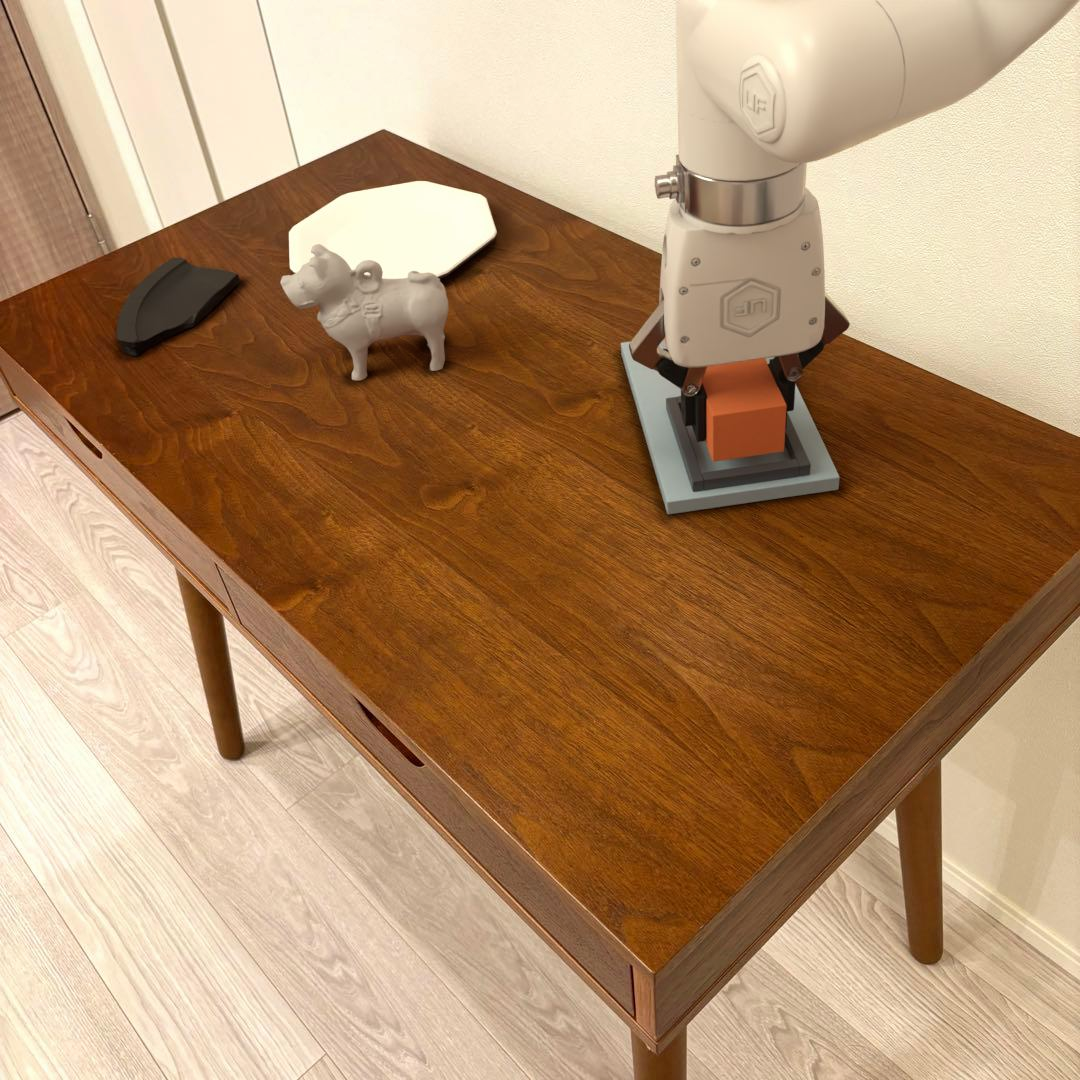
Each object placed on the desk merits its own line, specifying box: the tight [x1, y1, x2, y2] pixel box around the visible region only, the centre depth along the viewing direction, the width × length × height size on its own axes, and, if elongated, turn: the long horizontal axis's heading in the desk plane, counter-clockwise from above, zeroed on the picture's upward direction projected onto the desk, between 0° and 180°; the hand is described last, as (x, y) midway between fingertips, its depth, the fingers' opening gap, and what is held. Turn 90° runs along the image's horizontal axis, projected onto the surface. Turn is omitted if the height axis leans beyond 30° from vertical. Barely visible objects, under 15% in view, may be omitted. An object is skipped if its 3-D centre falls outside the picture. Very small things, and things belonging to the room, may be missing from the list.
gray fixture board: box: [620, 337, 841, 515], centre depth 85 cm, size 12×20×5 cm, turn 6°
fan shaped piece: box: [116, 257, 241, 357], centre depth 105 cm, size 8×14×2 cm, turn 156°
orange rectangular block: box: [702, 358, 787, 462], centre depth 80 cm, size 5×7×4 cm
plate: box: [288, 180, 498, 280], centre depth 110 cm, size 20×20×2 cm
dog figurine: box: [280, 244, 449, 381], centre depth 93 cm, size 5×13×11 cm, turn 96°
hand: (736, 422), depth 81 cm, fingers closed on orange rectangular block, 4 cm apart
